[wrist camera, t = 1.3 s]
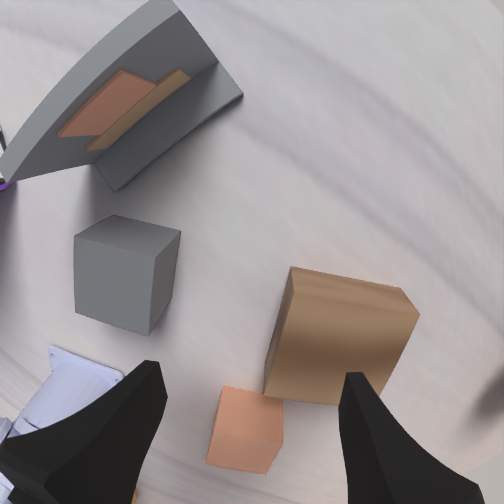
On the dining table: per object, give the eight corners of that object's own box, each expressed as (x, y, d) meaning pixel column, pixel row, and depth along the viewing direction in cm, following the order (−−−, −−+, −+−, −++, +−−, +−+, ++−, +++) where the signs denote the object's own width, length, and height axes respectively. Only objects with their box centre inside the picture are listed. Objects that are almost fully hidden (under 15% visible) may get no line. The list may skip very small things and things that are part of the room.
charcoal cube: (171, 297, 22) (148, 336, 18) (109, 279, 22) (75, 312, 17) (181, 230, 21) (155, 257, 16) (113, 214, 21) (74, 236, 16)
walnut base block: (361, 373, 24) (372, 407, 20) (265, 359, 24) (263, 395, 20) (399, 286, 21) (420, 314, 17) (290, 264, 21) (294, 292, 17)
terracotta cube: (267, 431, 26) (265, 474, 22) (214, 421, 26) (205, 463, 22) (283, 396, 25) (283, 442, 20) (223, 384, 25) (214, 430, 20)
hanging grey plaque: (243, 94, 17) (219, 56, 9) (119, 190, 20) (32, 227, 11) (188, 24, 16) (133, -41, 7) (74, 122, 18) (-22, 127, 10)
